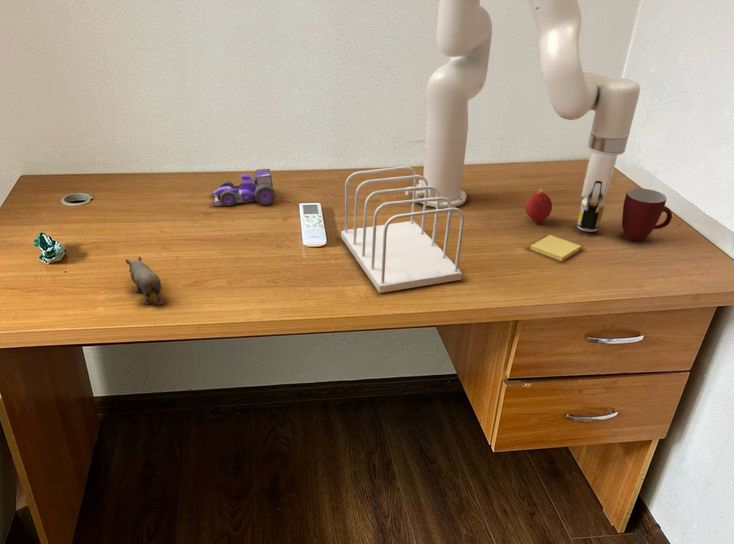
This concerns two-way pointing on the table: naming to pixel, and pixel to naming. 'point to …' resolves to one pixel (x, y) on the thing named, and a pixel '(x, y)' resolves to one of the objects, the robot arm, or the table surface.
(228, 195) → the toy race car
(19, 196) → the table surface
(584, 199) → the supplement bottle
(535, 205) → the onion
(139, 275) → the rhino figurine
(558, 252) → the sticky note pad
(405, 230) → the file sorter
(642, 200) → the mug
